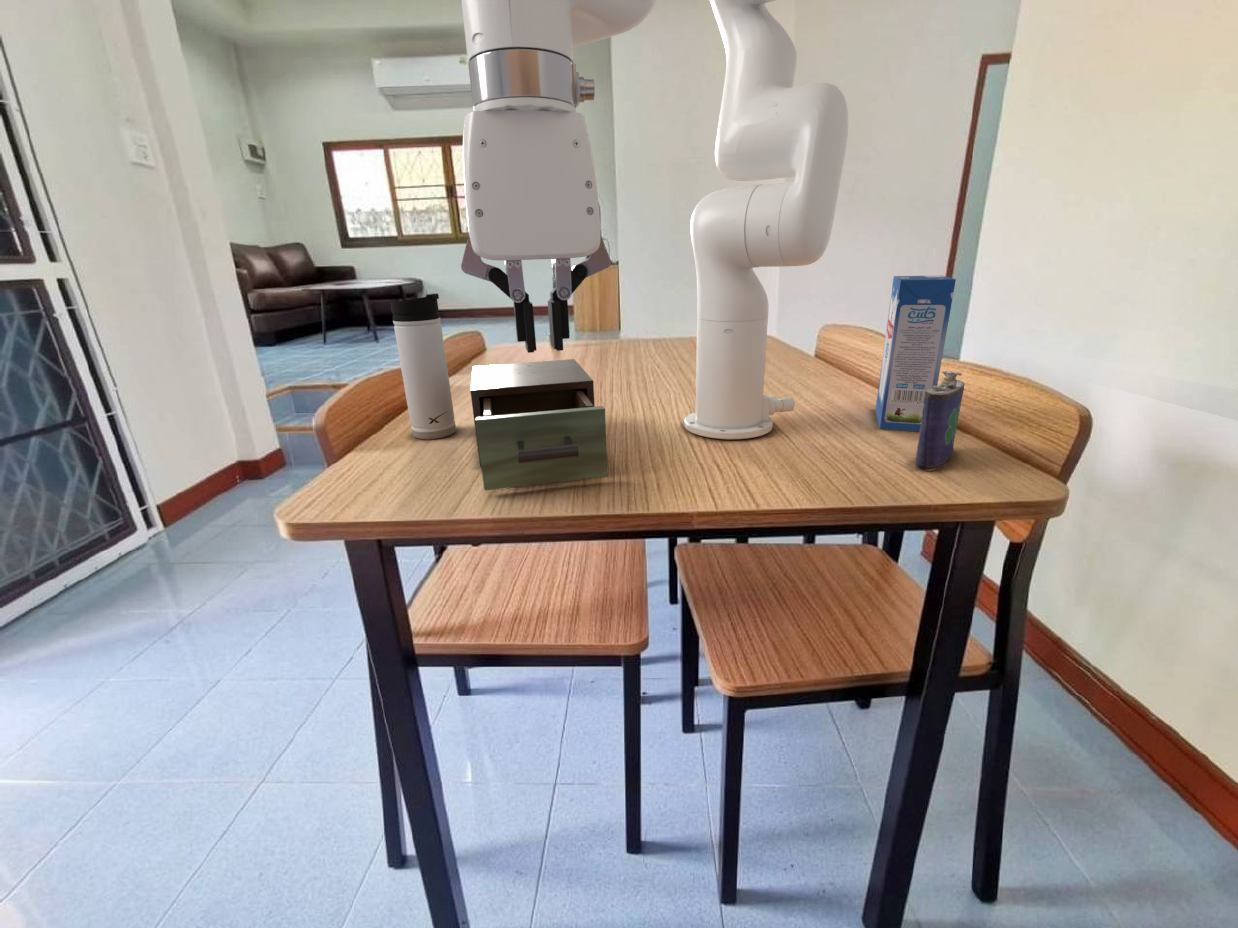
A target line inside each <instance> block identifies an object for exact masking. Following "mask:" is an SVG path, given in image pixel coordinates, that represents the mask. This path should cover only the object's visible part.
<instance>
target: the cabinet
mask: <svg viewBox="0 0 1238 928" xmlns="http://www.w3.org/2000/svg"><path fill="white" fill-rule="evenodd" d="M570 389H581V390H582V391H583V392H584V394H585V395H586V396H587V398H588V399H589V401H590V402H591V403H592V405H593V407H596V406H595V405H596V404H595V387H594V380H593V378H592V377H591V376H590V375H589V374H588V373H587V372H586V371H585V370H584V368H583V367H582V366H581V365H580V364H579V363H578V362H577V360H576V359H574V358H570V359H558V360H557V359H556V360H542V361H528V362H517V363H515V362H514V363H513V362H512V363H502V364H499V363H498V364H489V365H488V364H487V365H473V366H472V370H471V379H470V391H469V392H470V397H471V398H470V399H471V405H472V406H471V407H472V414H473V422H474V430H475V438H476V445H477V453H478V461H479V468H481V460H480V453H479V445H478V437H477V429H476V421H475V419H476V417H484V397H485V396H498V395H510V394H522V393H534V392H546V391H558V390H570Z"/></svg>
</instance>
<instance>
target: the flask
mask: <svg viewBox="0 0 1238 928" xmlns="http://www.w3.org/2000/svg"><path fill="white" fill-rule="evenodd" d="M941 374H943V375H944V378H943V379H942V380H941V382H940V384H939V385H937V386H933V388H932V389H928V390H927V391H926V392H925V397H924V407H923V412H922V419H921V427H920V431H918V442H917V446H916V453H915V462H914V465H913V466H914V467H915V468H916V469H917V470H921V471H925V472H932V471H937V470H939V469H942V468H943V467H945V466H947V464H948V463H949V462H950V460H951V458H952V456H953V452H954V446H955V439H956V434H957V428H958V421H959V416H960V412H961V411H960V410H961V407H962V400H963V395H964V391H965V383H964V381H962V380H960V379H957V377H958V376H960V377H961V376H963V373H962V372H959V371H954V372H953V371H951V370H950V371H947V370H942V371H941Z"/></svg>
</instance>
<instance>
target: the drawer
mask: <svg viewBox="0 0 1238 928" xmlns="http://www.w3.org/2000/svg"><path fill="white" fill-rule="evenodd" d="M475 421H476V429H477V437H478V445H479V453H480V460H481V467H480V468H481V476H482V482H483V491H493V490H502V489H512V488H519V487H520V488H521V487H528V486H539V485H546V484H554V483H562V482H572V481H573V482H574V481H581V480H589V479H598V478H606V477H608V476H609V469H608V447H607V446H608V445H607V424H606V423H607V421H606V408H605V407H604V406H603V405H598V406H595V407H593V405H592V403H591V402H590V401H589V399H588V398H587V396H586V395H585V394H584V392H583V391H582V390H581V389H570V390H558V391H546V392H534V393H522V394H510V395H498V396H485V397H484V417H476V419H475Z"/></svg>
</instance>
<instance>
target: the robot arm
mask: <svg viewBox="0 0 1238 928" xmlns="http://www.w3.org/2000/svg"><path fill="white" fill-rule="evenodd" d="M774 1H775V2H776V0H709V2H710V5H711V9H712V12H713V14H714V18H715V20H716V23H717V26H718V30H719V32H720V37H721V40H722V42H723V45H724V50H725V58H726V59H725V60H726V64H725V65H726V66H725V76H724V84H723V89H722V90H723V91H722V97H721V104H720V111H719V116H718V124H717V130H716V131H717V132H716V138H715V145H714V146H715V148H714V158H715V166H716V168H717V171H718V172H719V174H721V176H722V177H724V178H726V179H728V180H729V181H735V182H755V181H765V180H775V179H776V180H777V179H784V178H794V180H793V181H787V182H777V183H768V184H752V185H742V186H732V187H725V188H721V189H718V190H715V191H712V192H710V193H708V194H706V195H705V196H704V197H702V198H701V199H700V200H699V201H698V202H697V204H696V205H695V207H694V209H693V212H692V214H691V218H690V240H691V246H692V250H693V251H692V252H693V258H694V265H695V274H696V275H695V276H696V291H697V292H696V296H697V297H696V308H697V309H696V350H695V351H696V352H695V355H696V356H695V357H696V358H695V359H696V360H695V411H694V412H691V413H689V414H688V415H687V416H686V417H685V418H684V428H685V429H686V430H687V431H688V432H690V433H691V434H694V435H696V436H700V437H704V438H708V439H709V438H710V439H716V440H717V439H718V440H747V439H754V438H757V437H761V436H762V437H763V436H765V435H767V434H768V433H770V432H771V431H772V430H773V425H774V421H773V419H772V418H771V417H770V416H774V414H775V413H788V412H793V411H794V410H795V407H796V406H795V401H794V399H793V398H792V397H788V398H779V399H778V397H777V396H770V397H769V396H768V395H766V394H764V389H765V371H766V357H767V342H768V341H767V340H768V338H767V337H768V324H769V323H768V321H769V308H770V307H769V298H768V295H767V292H766V290H765V288H764V286H763V284H762V282H761V281H760V279H759V277H758V276H757V274H756V273H755V271H754V269H755V268H767V267H768V268H769V267H772V268H773V267H774V268H775V267H803V266H808V265H812V264H815V263H816V262H817V261H819V260H820V259H821V258H822V257H823V255H824V254H825V252H826V250H827V248H828V246H829V242H830V240H831V239H830V238H831V235H832V231H833V230H832V229H833V225H834V219H835V213H836V207H837V201H838V197H839V192H840V185H841V180H842V173H843V168H844V162H845V158H846V152H847V144H848V143H847V142H848V135H849V111H848V104H847V101H846V98H845V95H844V93H843V91H842V89H840V88H839V87H838V86H836V85H835V84H833V83H829V82H813V83H807V84H802V85H796V86H794V80H795V73H796V68H797V67H796V66H797V50H796V46H795V44H794V42H793V40H792V38H791V36H790V35H789V34H788V32H787V31H786V29H785V28H784V27H783V25H782V24H781V23H780V22H779V21H778V20H777V19H776V18H775V17H774V16H773V15H772V14H771V12H770V11H769V9H768V7H767V6H766V4H767V3H771V2H774ZM656 2H657V0H461V11H462V19H463V30H464V37H465V39H464V40H465V48H466V56H467V57H466V58H467V64H468V65H467V66H468V74H469V84H470V93H471V103H472V111H470V112H467V114H465V116H464V119H463V132H462V168H463V185H464V199H465V211H466V212H465V213H466V222H467V230H468V235H467V240H466V243H465V248H464V251H463V252H464V253H463V256H462V260H461V264H460V269H461V272H463V273H464V274H465V275H469V276H471V277H475V278H477V279H481V280H483V281H487V282H490V283H493V285H494V286H496V287H497V288H498V289H499V290H500V291H501V292H502V293H503V294H505V296H507V297H508V298H509V299H510V300H511V301H512V302H513V303H512V304H513V313H514V323H515V333H516V341H517V343H519V342H524V344H525V345H524V346H525V350H526V352H527V353H528V354H529V353H531V354H532V353H535V351H536V352H537V340H536V338H537V337H536V328H535V317H534V315H535V314H534V306H533V303H532V301H530V295H529V294H528V293H527V291H526V288H525V279H524V271H523V262H522V261H530V260H551V278H552V279H551V281H552V289H551V291H550V292H549V296H550V298H549V300H547V309H548V310H547V312H548V313H547V314H548V323H549V324H548V325H549V336H550V337H549V338H550V339H549V340H550V346H551V347H552V348H553V350H556V351H557V352H558V351H559V352H560V351H564V340H567V339H570V335H571V334H570V320H569V303H568V300H570V298H571V297H572V294H573V293H574V292H575V291H576V290H577V289H578V288H579V286H580V285H581V284H582V283H583V282H584V280H585V279H586V278H589V277H591V276H593V275H595V274H598V273H600V272H602V271H605V270H606V269H609V268H610V266H611V264H612V259H611V257H610V255H609V252H608V249H607V246H606V245H605V242H604V239H603V237H602V235H601V217H600V216H601V215H600V206H599V196H598V187H597V186H598V185H597V178H596V171H595V170H596V169H595V164H594V163H595V162H594V156H593V149H592V145H591V139H590V135H589V129H588V125H587V120H586V117H585V115H584V114H583V113H581V112H577V107H578V106H579V105H580V103H584V102H585V101H594V100H595V94H596V93H595V91H596V89H595V79H593V78H584V77H585V76H580V75H579V71H577V65H576V63H575V62H574V48H576V47H579V46H583V45H586V44H591V43H595V42H598V41H602V40H605V39H609V38H612V37H616V36H618V35H621V34H624V33H626V32H629V31H631V30H632V29H634V28H636V27H638V26H639V25H640V24H642V23H643V22H644V21H645V20H646V19H647V18H648V17H649V15H650V13H651V12H652V10H653V8H654V7H655V4H656ZM583 257H587V258H586V259H585V260H582V261H580V262H578V263H575V264H573V265H572V264H571V263H572V262H571V260H572V259H577V258H583ZM482 258H483V259H485V260H490V261H504V267H505V272H504V271H503V270H502V269H501V268H500V267H497V266H495V265H491V264H489V263H486V262H484V261H483V260H482ZM753 268H754V269H753Z"/></svg>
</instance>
